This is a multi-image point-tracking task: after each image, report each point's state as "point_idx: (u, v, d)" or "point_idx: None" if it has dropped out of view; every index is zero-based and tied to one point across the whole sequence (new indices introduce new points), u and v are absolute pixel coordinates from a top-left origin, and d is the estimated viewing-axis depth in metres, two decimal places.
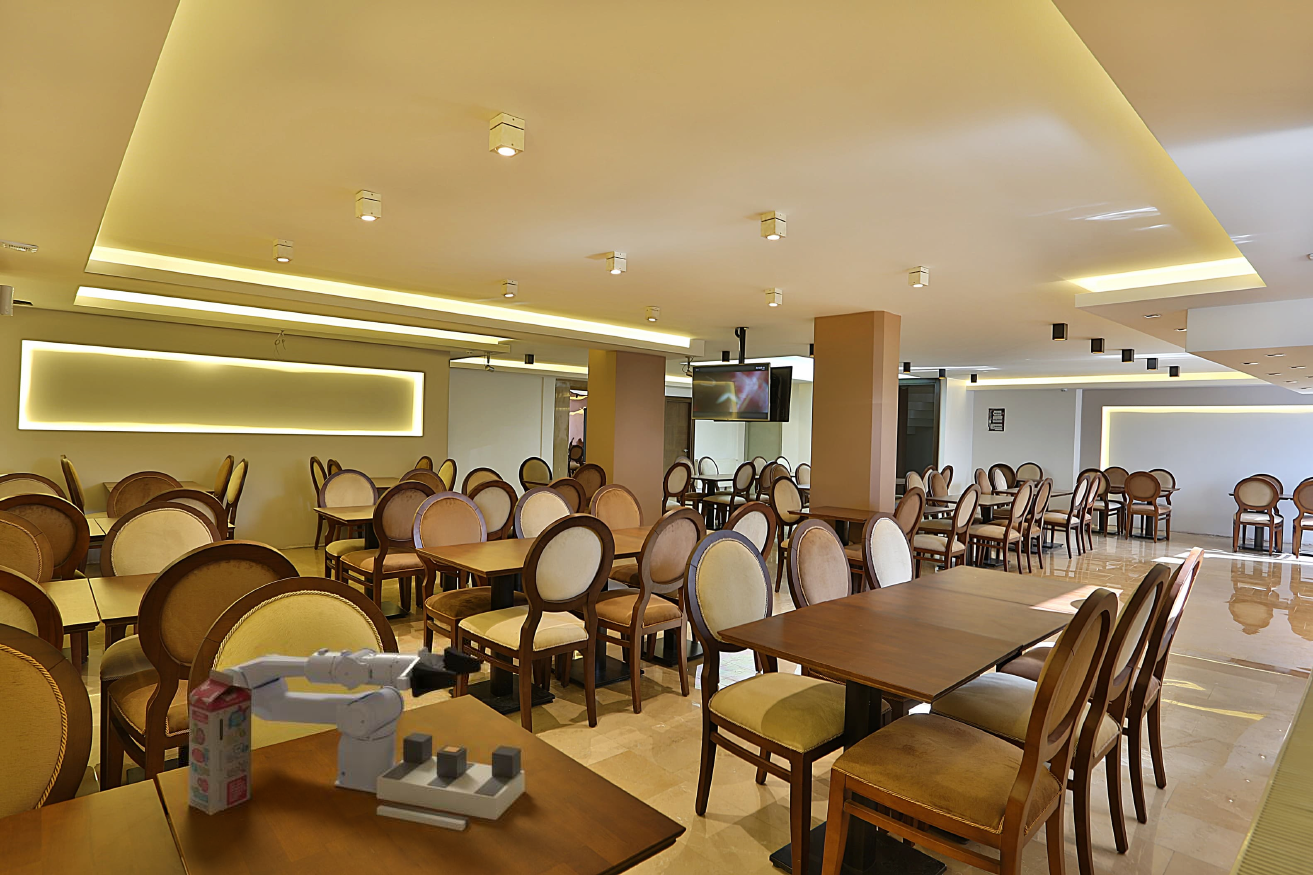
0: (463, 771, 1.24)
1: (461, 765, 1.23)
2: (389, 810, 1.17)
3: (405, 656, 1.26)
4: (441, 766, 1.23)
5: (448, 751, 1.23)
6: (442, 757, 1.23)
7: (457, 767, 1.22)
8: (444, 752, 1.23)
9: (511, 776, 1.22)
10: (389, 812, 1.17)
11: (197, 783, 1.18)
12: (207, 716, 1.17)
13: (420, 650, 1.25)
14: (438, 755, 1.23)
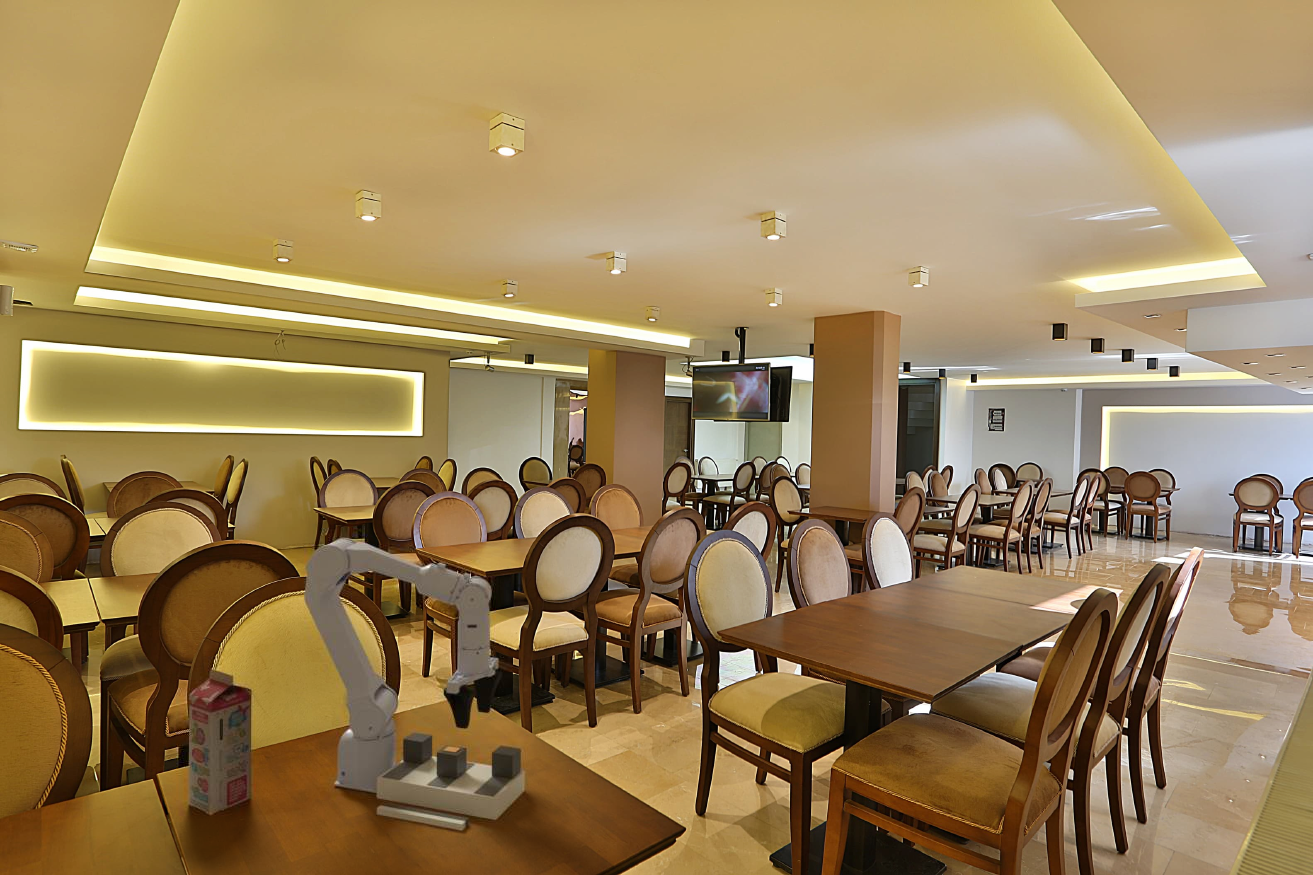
0: (463, 771, 1.24)
1: (461, 765, 1.23)
2: (389, 810, 1.17)
3: (484, 657, 1.29)
4: (441, 766, 1.23)
5: (448, 751, 1.23)
6: (442, 757, 1.23)
7: (457, 767, 1.22)
8: (444, 752, 1.23)
9: (511, 776, 1.22)
10: (389, 812, 1.17)
11: (197, 783, 1.18)
12: (207, 716, 1.17)
13: (489, 675, 1.29)
14: (438, 755, 1.23)
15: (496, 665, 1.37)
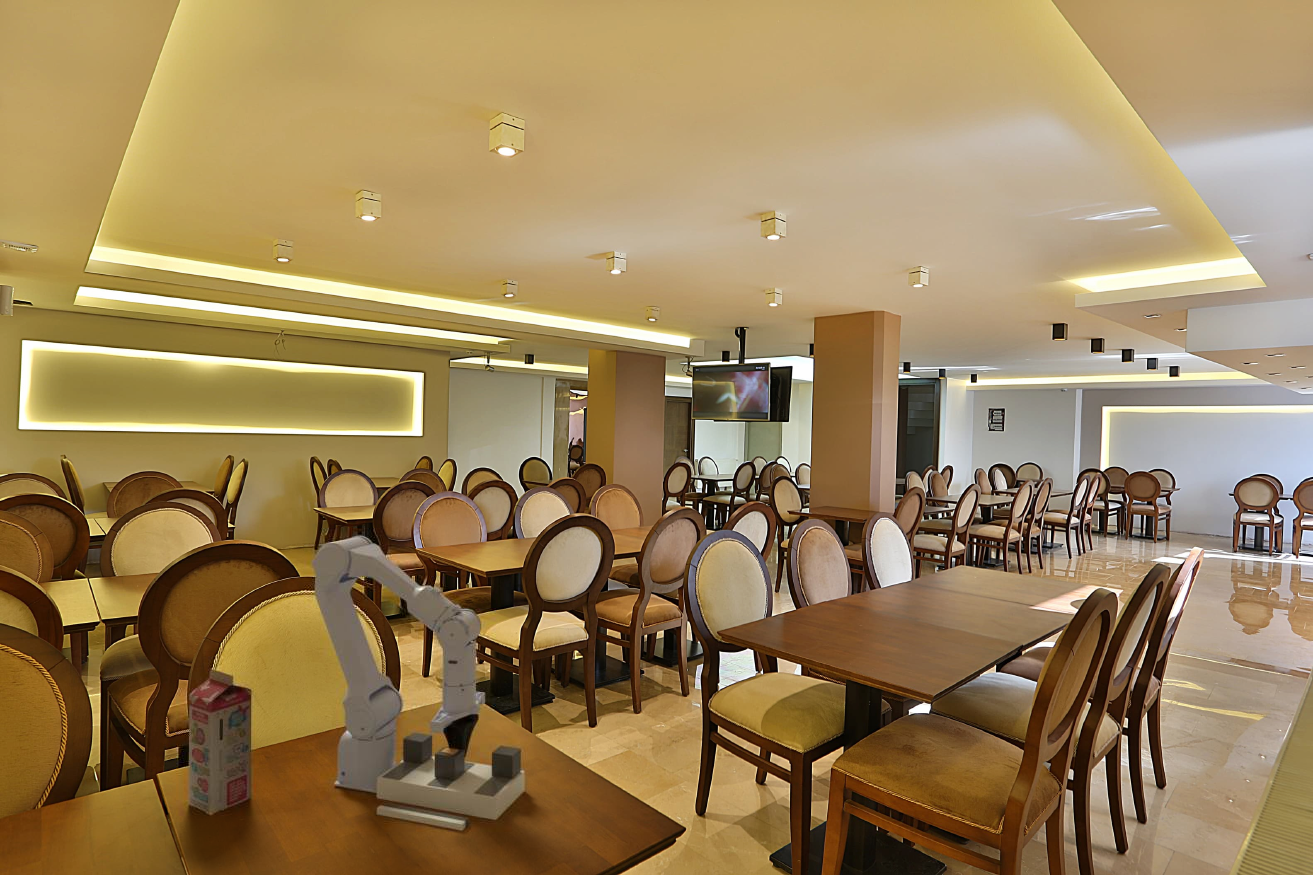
0: (461, 773, 1.23)
1: (459, 767, 1.23)
2: (389, 810, 1.17)
3: (469, 694, 1.25)
4: (439, 768, 1.22)
5: (446, 753, 1.23)
6: (440, 759, 1.22)
7: (455, 769, 1.22)
8: (442, 753, 1.23)
9: (511, 776, 1.22)
10: (389, 812, 1.17)
11: (197, 783, 1.18)
12: (207, 716, 1.17)
13: (475, 712, 1.24)
14: (436, 757, 1.22)
15: (483, 700, 1.32)
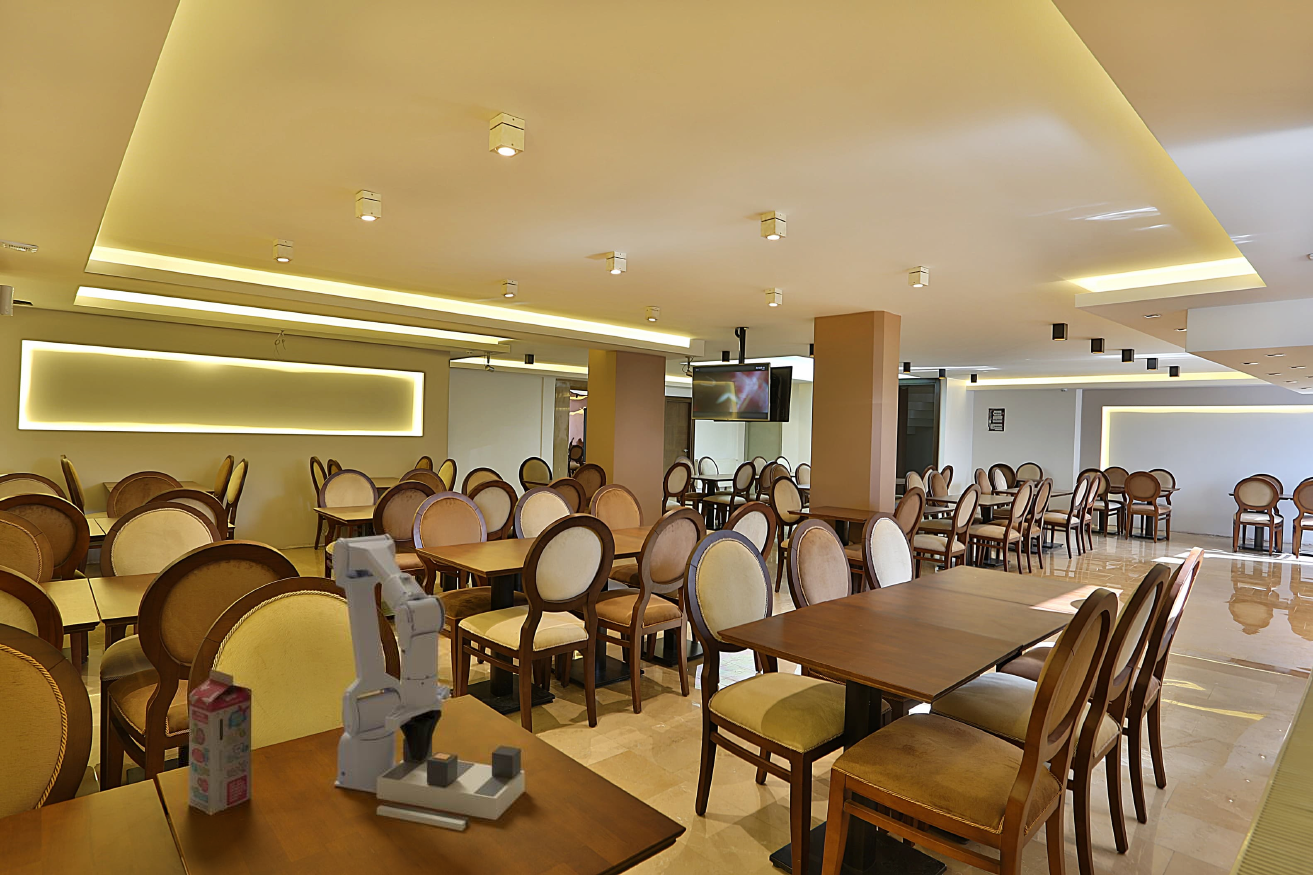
0: (454, 778, 1.21)
1: (452, 772, 1.21)
2: (389, 810, 1.17)
3: (430, 687, 1.13)
4: (431, 773, 1.20)
5: (438, 758, 1.21)
6: (432, 764, 1.20)
7: (448, 775, 1.19)
8: (434, 759, 1.20)
9: (511, 776, 1.22)
10: (389, 812, 1.17)
11: (197, 783, 1.18)
12: (207, 716, 1.17)
13: (436, 708, 1.13)
14: (428, 762, 1.20)
15: (447, 695, 1.21)
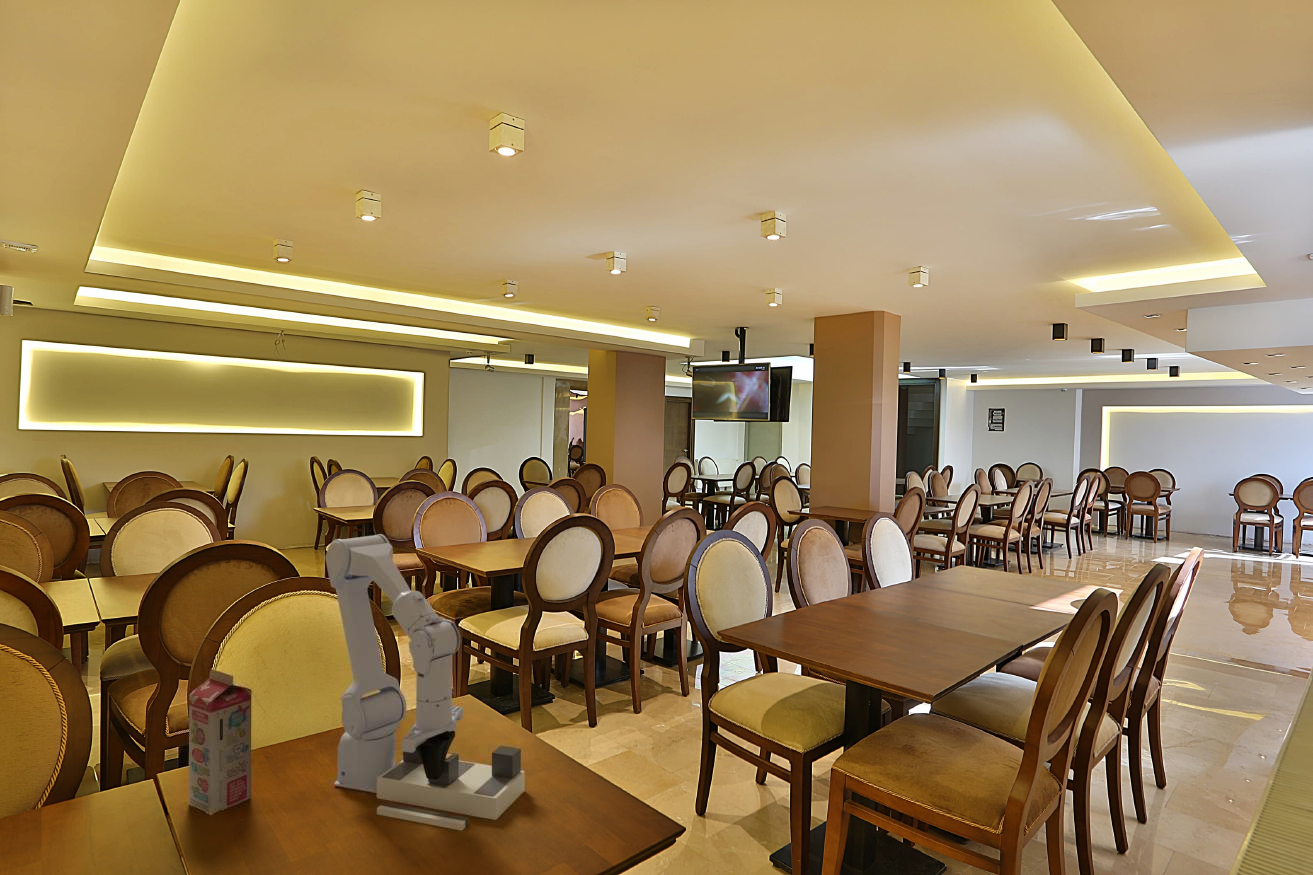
0: (455, 777, 1.22)
1: (453, 771, 1.21)
2: (389, 810, 1.17)
3: (445, 709, 1.17)
4: None
5: None
6: None
7: (449, 774, 1.20)
8: None
9: (511, 776, 1.22)
10: (389, 812, 1.17)
11: (197, 783, 1.18)
12: (207, 716, 1.17)
13: (451, 729, 1.17)
14: None
15: (461, 715, 1.25)
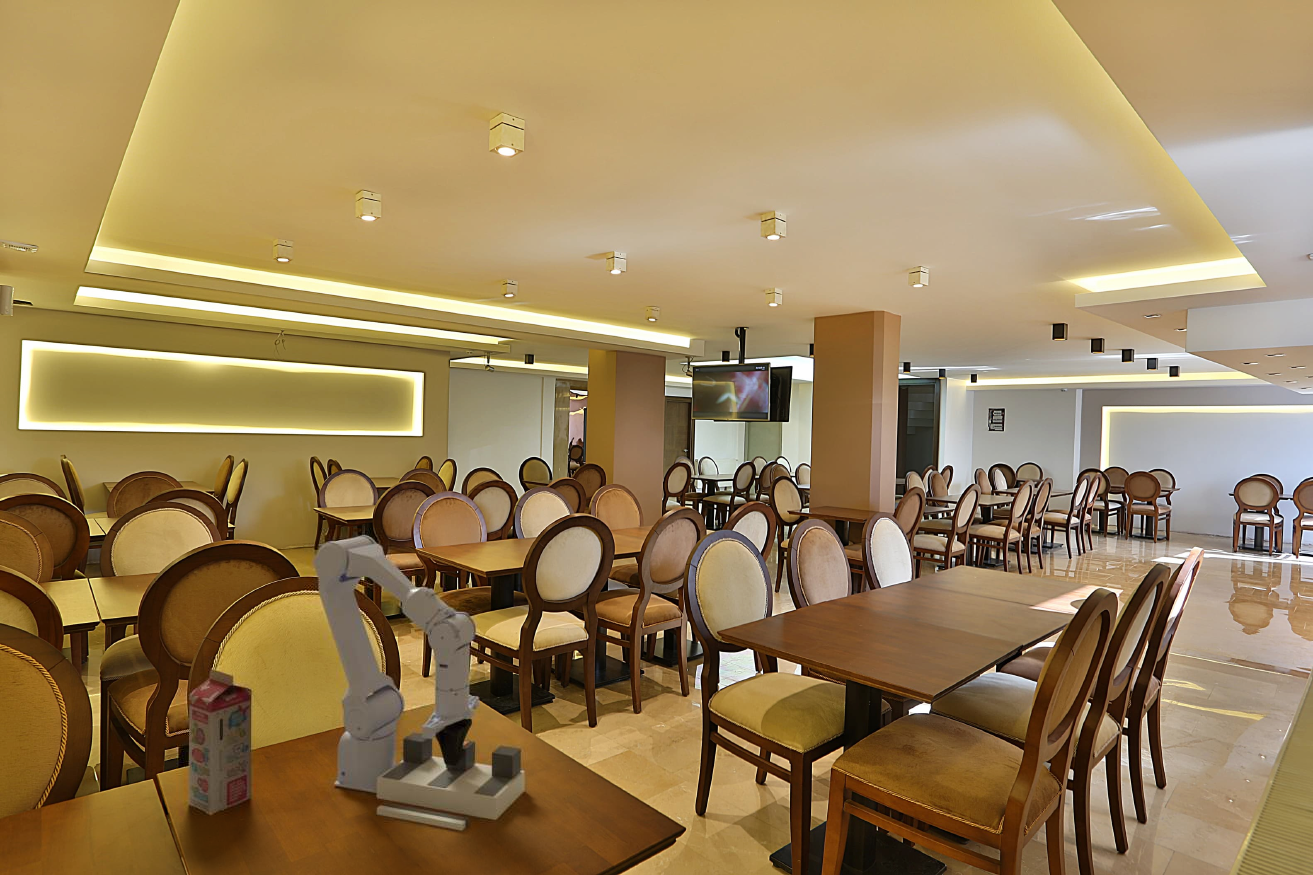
0: (472, 764, 1.27)
1: (470, 758, 1.26)
2: (389, 810, 1.17)
3: (462, 698, 1.22)
4: None
5: None
6: None
7: (466, 760, 1.25)
8: None
9: (511, 776, 1.22)
10: (389, 812, 1.17)
11: (197, 783, 1.18)
12: (207, 716, 1.17)
13: (468, 717, 1.22)
14: None
15: (476, 704, 1.30)
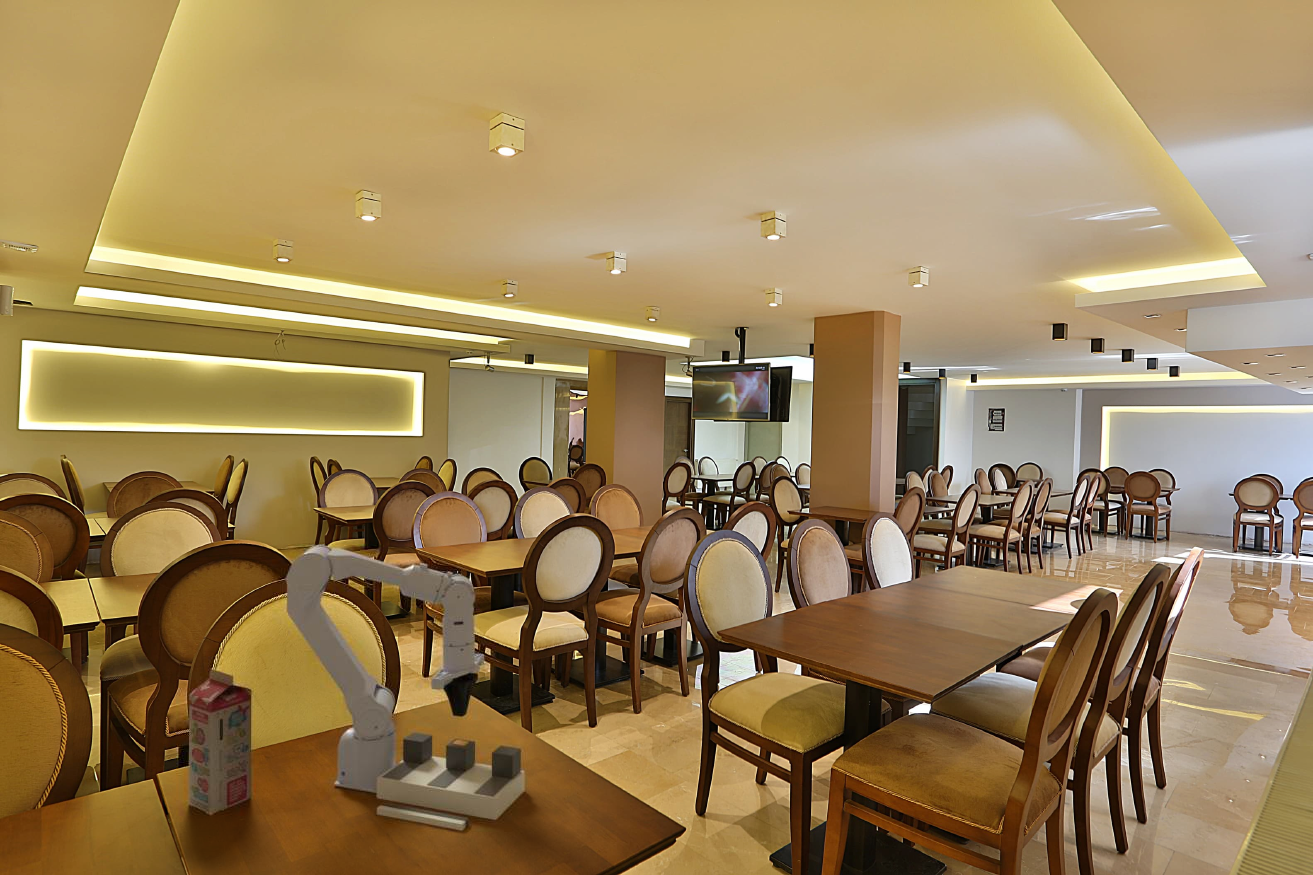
0: (472, 764, 1.27)
1: (470, 758, 1.26)
2: (389, 810, 1.17)
3: (468, 653, 1.31)
4: (450, 759, 1.26)
5: (457, 744, 1.26)
6: (451, 750, 1.26)
7: (466, 760, 1.25)
8: (453, 745, 1.26)
9: (511, 776, 1.22)
10: (389, 812, 1.17)
11: (197, 783, 1.18)
12: (207, 716, 1.17)
13: (474, 671, 1.31)
14: (447, 748, 1.26)
15: (482, 661, 1.39)
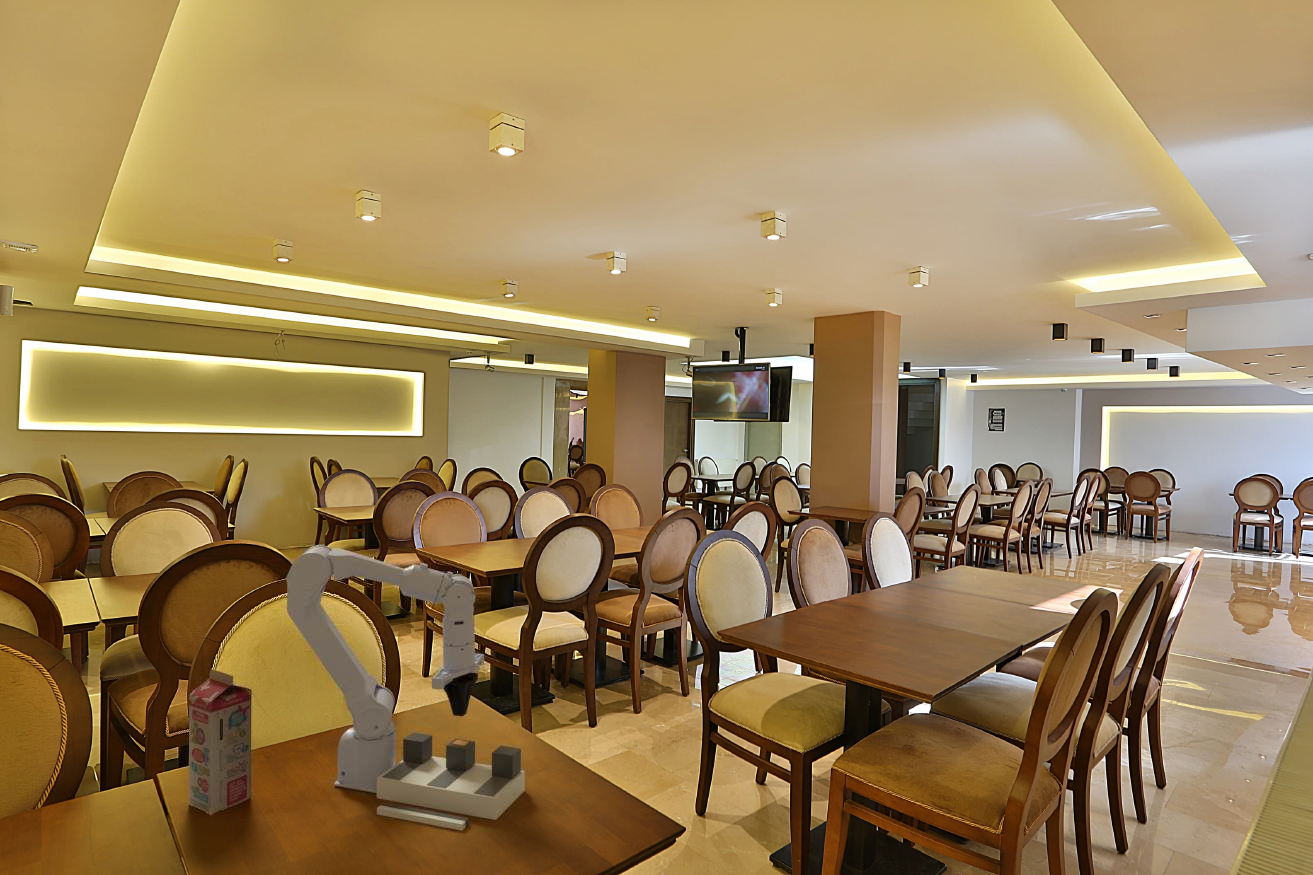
0: (472, 764, 1.27)
1: (470, 758, 1.26)
2: (389, 810, 1.17)
3: (469, 653, 1.31)
4: (450, 759, 1.26)
5: (457, 744, 1.26)
6: (451, 750, 1.26)
7: (466, 760, 1.25)
8: (453, 745, 1.26)
9: (511, 776, 1.22)
10: (389, 812, 1.17)
11: (197, 783, 1.18)
12: (207, 716, 1.17)
13: (474, 670, 1.31)
14: (447, 748, 1.26)
15: (482, 661, 1.39)
